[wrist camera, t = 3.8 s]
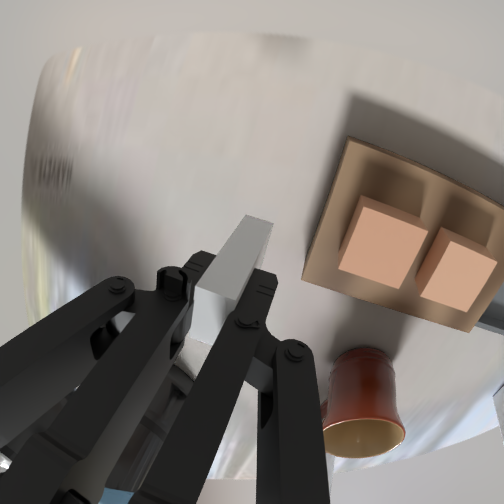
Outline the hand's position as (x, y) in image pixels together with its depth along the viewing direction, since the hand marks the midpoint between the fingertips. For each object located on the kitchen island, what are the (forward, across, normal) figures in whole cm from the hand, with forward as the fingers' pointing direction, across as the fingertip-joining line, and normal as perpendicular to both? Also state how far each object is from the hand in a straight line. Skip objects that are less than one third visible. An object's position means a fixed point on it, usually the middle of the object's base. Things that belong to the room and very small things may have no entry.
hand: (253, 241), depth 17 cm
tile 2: (+8, +8, 0) cm, 11 cm away
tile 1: (+8, +15, 0) cm, 17 cm away
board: (+11, +13, 0) cm, 17 cm away
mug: (+11, +14, -18) cm, 25 cm away
